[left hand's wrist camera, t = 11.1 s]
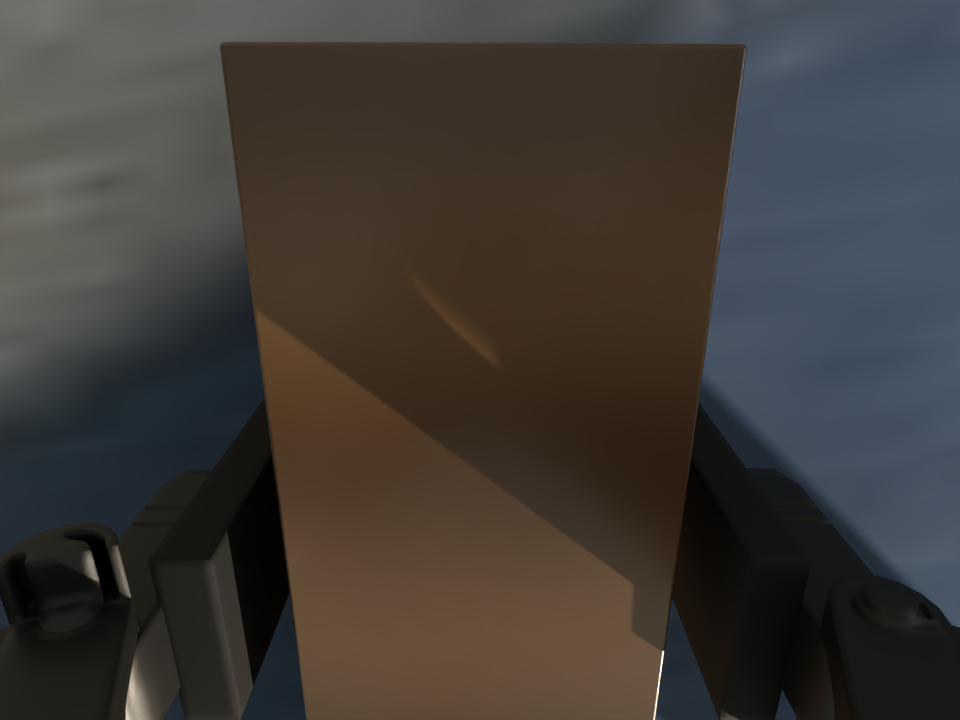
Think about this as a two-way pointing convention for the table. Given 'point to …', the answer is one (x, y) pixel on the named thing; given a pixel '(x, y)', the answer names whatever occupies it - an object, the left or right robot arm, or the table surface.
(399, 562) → the bar
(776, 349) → the table surface
